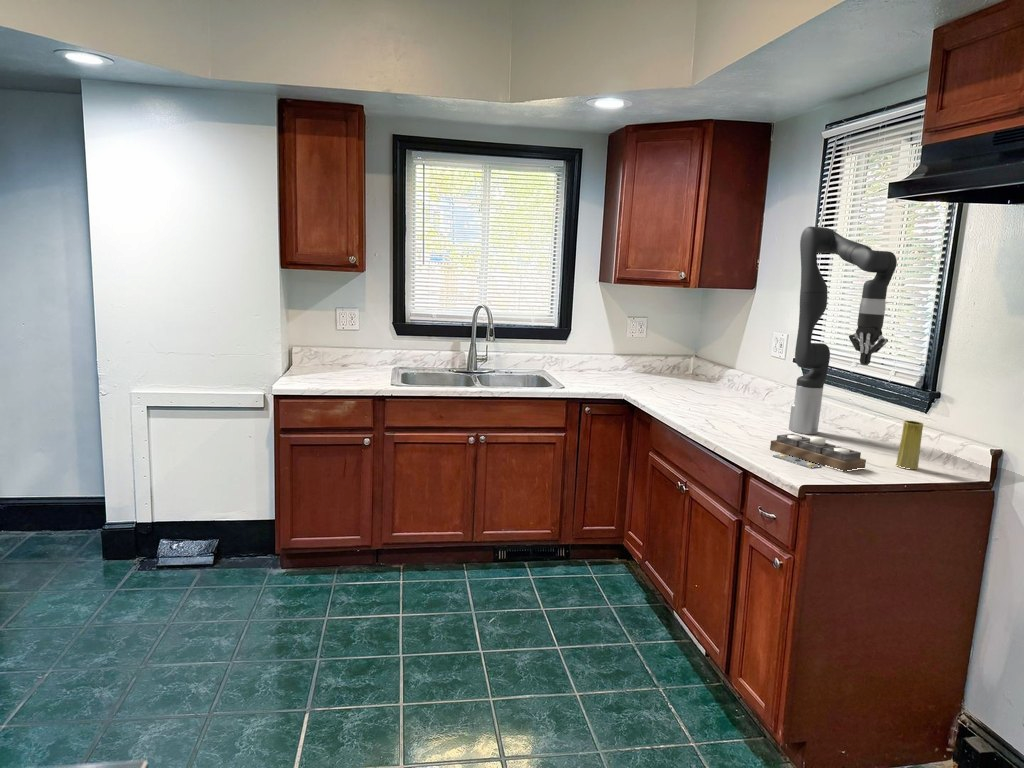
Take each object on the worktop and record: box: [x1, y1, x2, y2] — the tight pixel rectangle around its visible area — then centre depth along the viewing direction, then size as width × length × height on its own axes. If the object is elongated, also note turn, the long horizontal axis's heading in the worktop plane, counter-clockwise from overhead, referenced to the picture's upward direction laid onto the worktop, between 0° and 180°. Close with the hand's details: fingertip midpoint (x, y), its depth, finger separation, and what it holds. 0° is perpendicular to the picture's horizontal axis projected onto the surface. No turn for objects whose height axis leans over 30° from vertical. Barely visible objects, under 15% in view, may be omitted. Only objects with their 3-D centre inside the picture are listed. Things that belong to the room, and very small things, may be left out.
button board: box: [769, 433, 867, 471], centre depth 218 cm, size 27×10×5 cm, turn 30°
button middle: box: [809, 435, 827, 446], centre depth 217 cm, size 4×4×2 cm
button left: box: [787, 434, 802, 440], centre depth 225 cm, size 4×4×2 cm
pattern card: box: [772, 453, 822, 468], centre depth 214 cm, size 14×5×1 cm, turn 30°
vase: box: [895, 420, 924, 470], centre depth 213 cm, size 6×6×14 cm
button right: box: [834, 447, 851, 453], centre depth 210 cm, size 4×4×2 cm
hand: (864, 364), depth 229 cm, fingers closed
